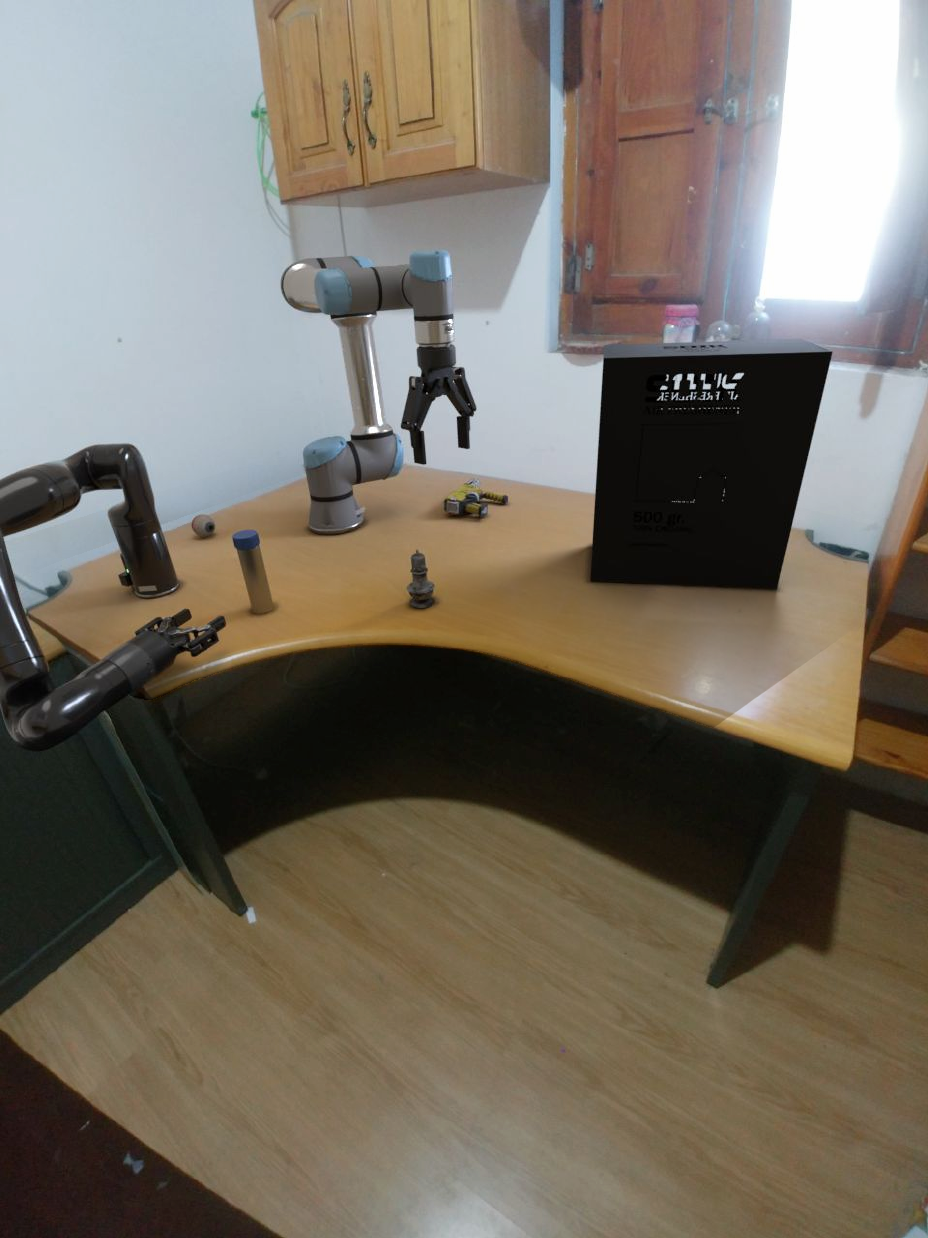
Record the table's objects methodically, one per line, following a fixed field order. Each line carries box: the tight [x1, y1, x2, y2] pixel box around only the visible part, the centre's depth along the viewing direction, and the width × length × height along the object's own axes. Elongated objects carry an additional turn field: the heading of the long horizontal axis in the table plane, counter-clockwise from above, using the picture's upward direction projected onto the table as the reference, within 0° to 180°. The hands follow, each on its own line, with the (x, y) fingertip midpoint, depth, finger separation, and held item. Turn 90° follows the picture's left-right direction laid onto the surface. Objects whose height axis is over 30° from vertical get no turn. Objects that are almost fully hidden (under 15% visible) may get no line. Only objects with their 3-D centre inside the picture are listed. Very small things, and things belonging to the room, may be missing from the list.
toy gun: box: [443, 478, 509, 519], centre depth 176 cm, size 5×24×15 cm
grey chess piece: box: [406, 549, 436, 609], centre depth 124 cm, size 6×6×12 cm
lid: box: [231, 529, 261, 550], centre depth 120 cm, size 5×5×2 cm
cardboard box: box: [589, 338, 834, 590], centre depth 125 cm, size 38×20×45 cm, turn 78°
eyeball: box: [191, 514, 216, 538], centre depth 166 cm, size 6×6×6 cm
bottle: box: [236, 544, 275, 615], centre depth 124 cm, size 4×4×17 cm
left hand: (206, 616), depth 114 cm, fingers open, 8 cm apart
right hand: (443, 455), depth 126 cm, fingers open, 13 cm apart
